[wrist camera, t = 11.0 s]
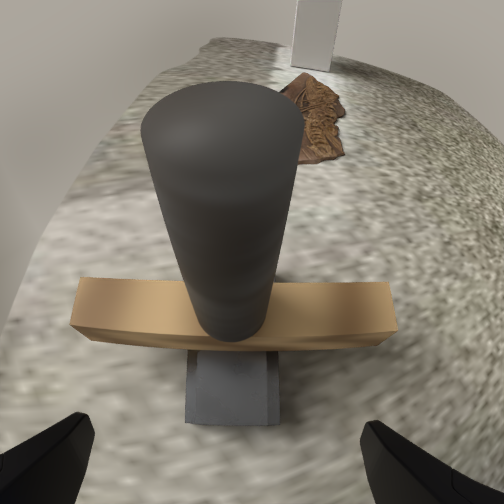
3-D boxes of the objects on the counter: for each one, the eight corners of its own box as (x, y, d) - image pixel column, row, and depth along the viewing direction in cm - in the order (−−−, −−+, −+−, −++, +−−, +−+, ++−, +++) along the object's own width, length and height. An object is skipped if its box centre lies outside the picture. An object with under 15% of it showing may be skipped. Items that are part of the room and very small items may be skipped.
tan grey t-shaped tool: (369, 298, 19) (491, 126, 8) (377, 350, 17) (542, 206, 6) (99, 293, 19) (-17, 123, 7) (90, 344, 17) (-69, 199, 5)
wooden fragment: (343, 178, 32) (345, 171, 31) (244, 158, 33) (245, 151, 32) (342, 83, 46) (344, 77, 45) (280, 70, 47) (281, 65, 46)
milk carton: (326, 59, 51) (340, -24, 35) (329, 73, 47) (345, -21, 31) (291, 54, 51) (300, -31, 35) (289, 66, 47) (300, -29, 31)
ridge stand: (276, 424, 19) (285, 424, 15) (189, 423, 19) (177, 422, 15) (271, 273, 25) (277, 242, 21) (198, 272, 25) (191, 241, 21)
